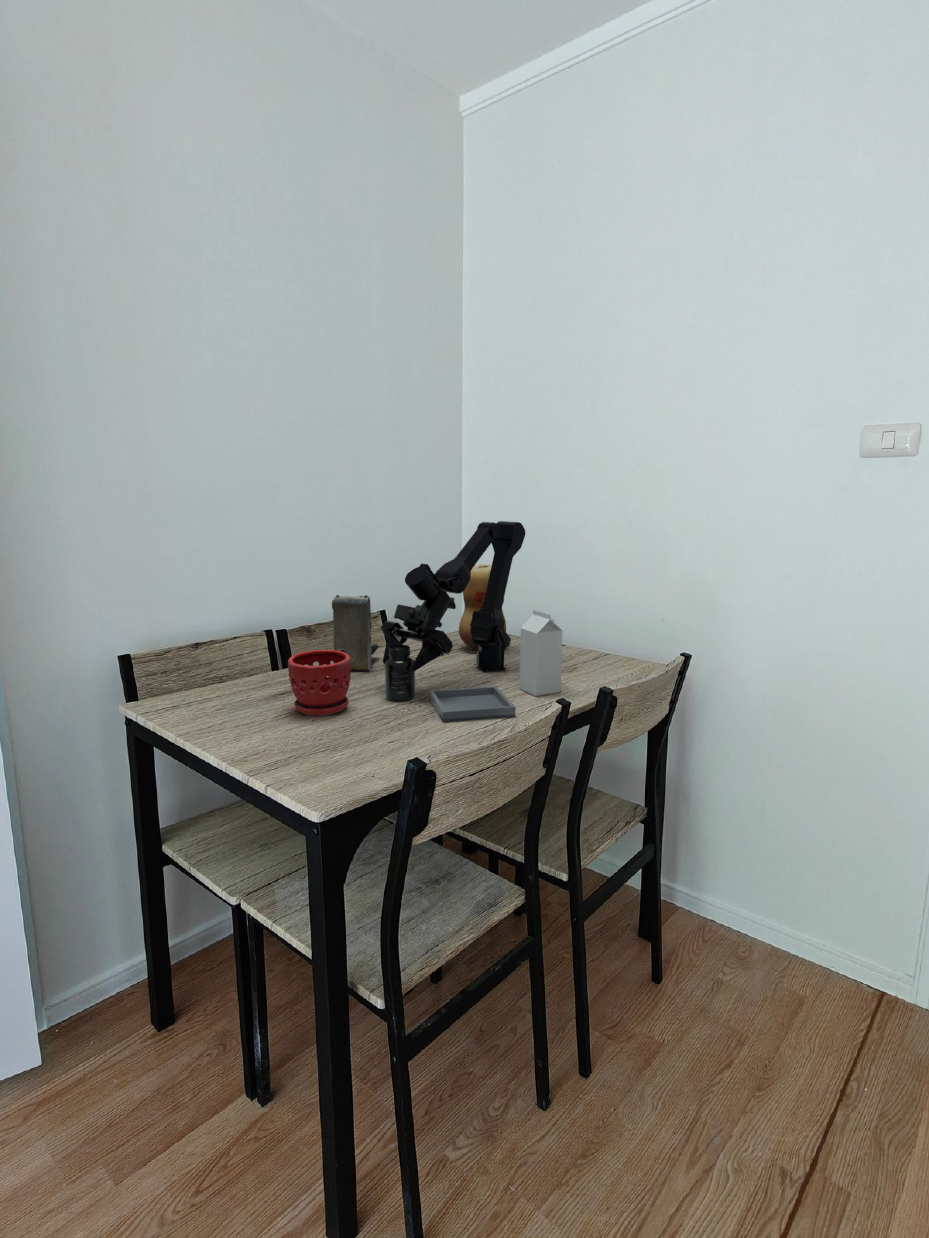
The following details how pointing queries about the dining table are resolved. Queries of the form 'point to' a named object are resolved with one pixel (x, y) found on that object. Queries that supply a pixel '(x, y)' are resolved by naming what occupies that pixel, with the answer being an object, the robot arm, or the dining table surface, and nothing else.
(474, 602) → the butternut squash
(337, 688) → the plant pot
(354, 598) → the vintage camera
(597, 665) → the dining table surface
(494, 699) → the charcoal tray
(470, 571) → the robot arm
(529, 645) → the milk carton
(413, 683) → the supplement bottle
